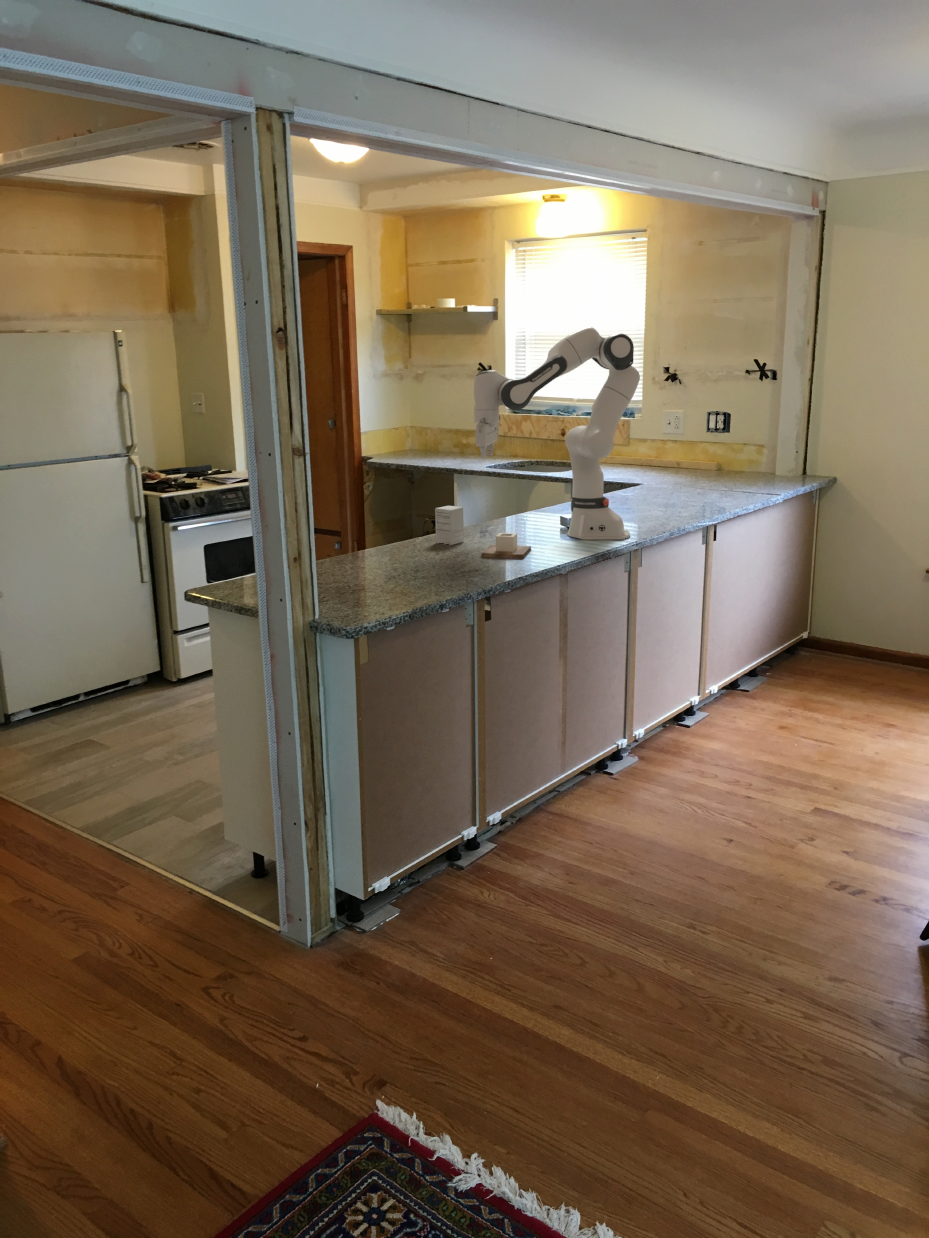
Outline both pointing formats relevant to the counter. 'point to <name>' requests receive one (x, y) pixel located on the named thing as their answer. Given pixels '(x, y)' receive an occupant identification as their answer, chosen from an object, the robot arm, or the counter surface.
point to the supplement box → (449, 525)
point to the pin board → (506, 552)
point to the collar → (506, 542)
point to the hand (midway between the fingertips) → (486, 457)
